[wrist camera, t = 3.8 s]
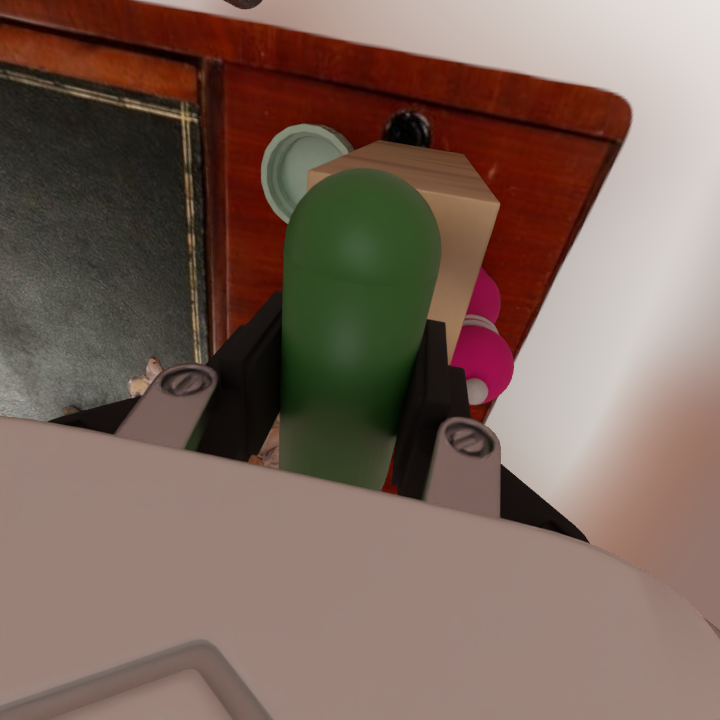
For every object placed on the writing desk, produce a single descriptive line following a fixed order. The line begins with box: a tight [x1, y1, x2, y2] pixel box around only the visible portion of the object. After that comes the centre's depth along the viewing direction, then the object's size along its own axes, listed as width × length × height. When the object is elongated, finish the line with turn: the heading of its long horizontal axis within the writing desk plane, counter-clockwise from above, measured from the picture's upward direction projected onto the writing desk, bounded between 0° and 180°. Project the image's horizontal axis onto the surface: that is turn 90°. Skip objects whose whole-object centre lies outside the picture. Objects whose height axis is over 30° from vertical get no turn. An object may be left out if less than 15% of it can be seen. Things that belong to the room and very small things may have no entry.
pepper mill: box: [450, 267, 514, 405], centre depth 34 cm, size 7×7×20 cm
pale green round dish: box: [261, 123, 354, 224], centre depth 37 cm, size 9×9×4 cm
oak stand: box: [307, 140, 500, 365], centre depth 28 cm, size 8×8×24 cm
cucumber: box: [279, 168, 442, 491], centre depth 11 cm, size 11×4×4 cm, turn 172°
